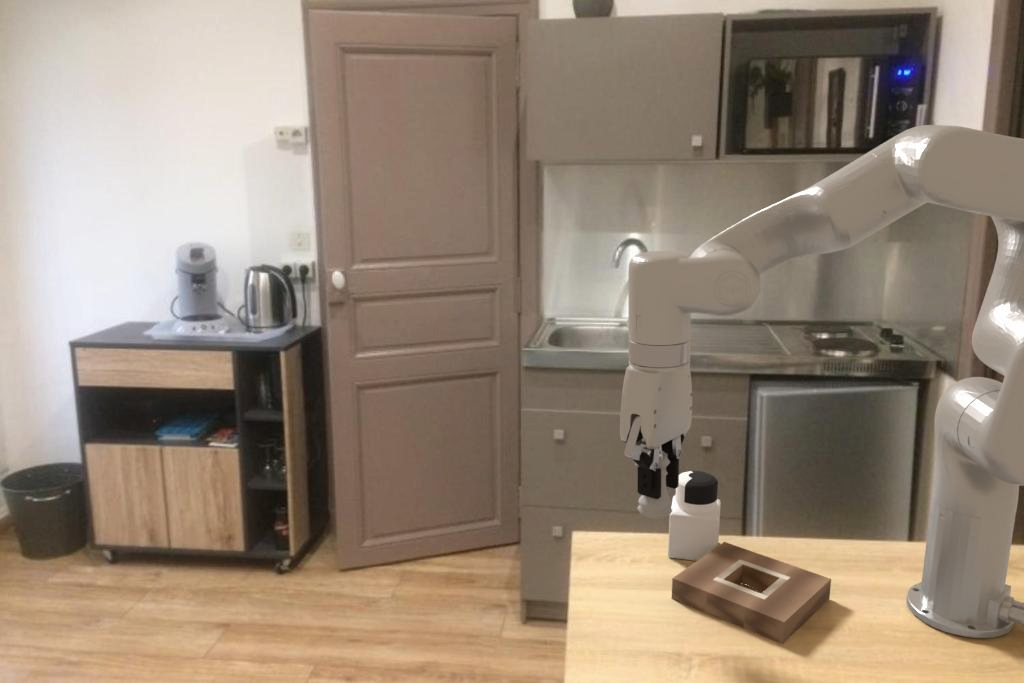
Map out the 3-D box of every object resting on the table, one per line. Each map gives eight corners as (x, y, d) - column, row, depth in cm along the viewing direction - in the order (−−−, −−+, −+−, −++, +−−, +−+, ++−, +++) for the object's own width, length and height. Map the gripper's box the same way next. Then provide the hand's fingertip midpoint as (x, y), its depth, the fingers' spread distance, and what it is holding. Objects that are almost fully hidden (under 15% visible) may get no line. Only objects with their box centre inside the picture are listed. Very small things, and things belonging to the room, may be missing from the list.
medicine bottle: (718, 541, 135) (722, 468, 132) (717, 564, 129) (721, 487, 126) (671, 536, 137) (674, 464, 134) (667, 558, 130) (670, 483, 127)
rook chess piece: (671, 521, 111) (675, 460, 110) (636, 518, 112) (638, 458, 110) (672, 507, 115) (675, 449, 114) (638, 504, 116) (640, 447, 115)
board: (829, 598, 119) (831, 578, 118) (782, 643, 109) (784, 622, 108) (723, 560, 130) (724, 541, 129) (671, 598, 120) (672, 578, 119)
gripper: (669, 335, 117) (668, 464, 121) (594, 362, 105) (595, 504, 110) (720, 343, 112) (716, 477, 117) (647, 373, 100) (646, 521, 105)
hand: (658, 489), depth 113 cm, fingers closed on rook chess piece, 3 cm apart
